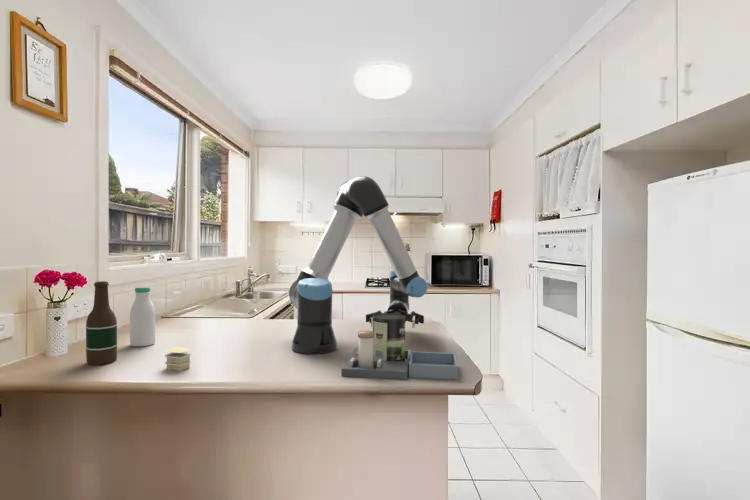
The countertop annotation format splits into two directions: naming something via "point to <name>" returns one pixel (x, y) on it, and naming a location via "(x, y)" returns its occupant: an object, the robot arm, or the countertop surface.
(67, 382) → the countertop surface
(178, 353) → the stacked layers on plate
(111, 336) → the beer bottle
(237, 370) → the countertop surface
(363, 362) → the spice jar
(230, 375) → the countertop surface
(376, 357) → the coffee can
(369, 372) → the grey holder base
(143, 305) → the milk bottle
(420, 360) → the tray
